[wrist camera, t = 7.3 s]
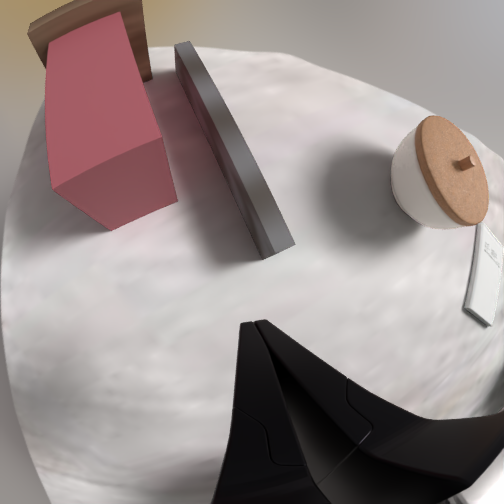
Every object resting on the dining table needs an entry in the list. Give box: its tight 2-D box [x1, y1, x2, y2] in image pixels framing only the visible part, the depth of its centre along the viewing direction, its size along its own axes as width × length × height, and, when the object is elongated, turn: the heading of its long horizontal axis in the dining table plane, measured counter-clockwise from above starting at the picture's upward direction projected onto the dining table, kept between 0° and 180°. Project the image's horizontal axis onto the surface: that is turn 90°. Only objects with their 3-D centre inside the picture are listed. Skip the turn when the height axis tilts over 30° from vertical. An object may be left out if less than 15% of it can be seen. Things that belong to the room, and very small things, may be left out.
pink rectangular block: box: [45, 12, 178, 231], centre depth 16 cm, size 14×6×10 cm, turn 25°
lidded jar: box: [391, 116, 489, 230], centre depth 21 cm, size 11×11×9 cm
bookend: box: [27, 0, 295, 260], centre depth 15 cm, size 23×13×12 cm, turn 25°
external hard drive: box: [464, 222, 504, 326], centre depth 27 cm, size 2×8×12 cm
